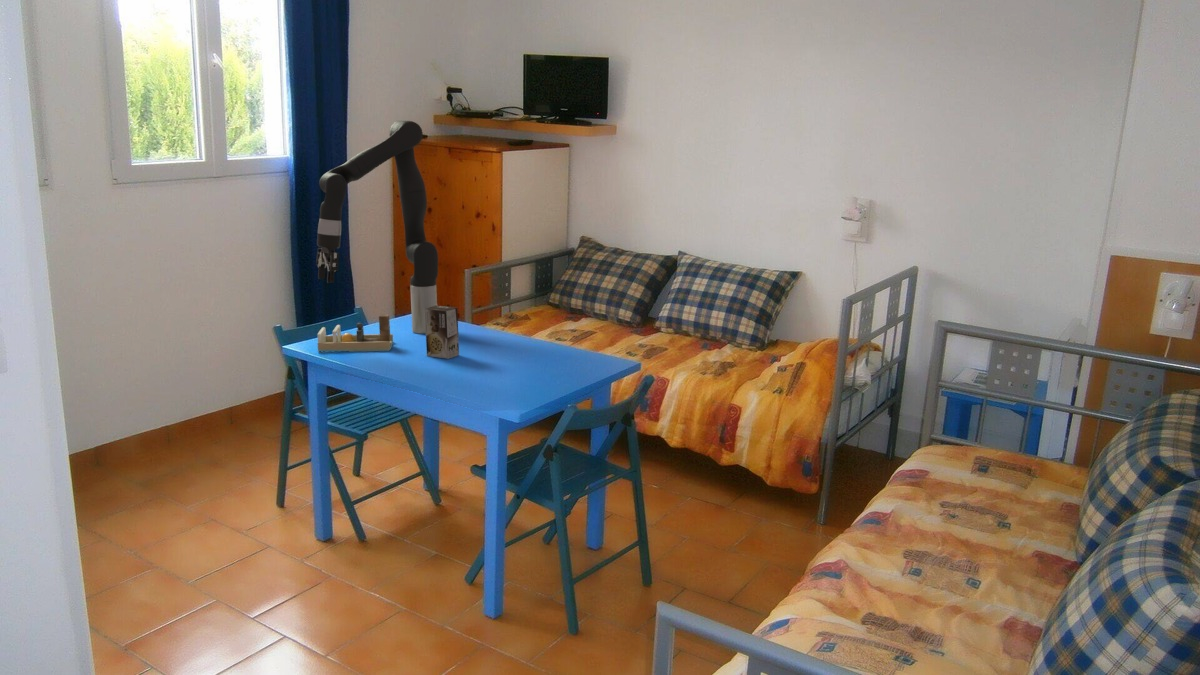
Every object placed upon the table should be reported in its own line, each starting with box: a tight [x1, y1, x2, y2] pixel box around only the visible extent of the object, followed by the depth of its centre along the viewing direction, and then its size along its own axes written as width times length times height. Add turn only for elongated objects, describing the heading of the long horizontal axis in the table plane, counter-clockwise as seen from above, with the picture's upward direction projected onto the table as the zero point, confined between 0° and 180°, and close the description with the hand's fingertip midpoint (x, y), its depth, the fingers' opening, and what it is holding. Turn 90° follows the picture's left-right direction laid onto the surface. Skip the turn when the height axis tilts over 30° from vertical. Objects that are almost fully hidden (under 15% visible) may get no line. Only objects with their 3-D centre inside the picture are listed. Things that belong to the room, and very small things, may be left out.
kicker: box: [355, 313, 391, 342], centre depth 318 cm, size 11×6×10 cm, turn 97°
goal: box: [316, 324, 342, 344], centre depth 317 cm, size 6×10×6 cm, turn 7°
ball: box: [342, 332, 354, 342], centre depth 318 cm, size 4×4×4 cm
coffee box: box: [425, 304, 460, 360], centre depth 307 cm, size 9×6×16 cm
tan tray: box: [317, 333, 394, 352], centre depth 319 cm, size 24×12×3 cm, turn 97°
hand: (325, 280), depth 317 cm, fingers open, 8 cm apart
